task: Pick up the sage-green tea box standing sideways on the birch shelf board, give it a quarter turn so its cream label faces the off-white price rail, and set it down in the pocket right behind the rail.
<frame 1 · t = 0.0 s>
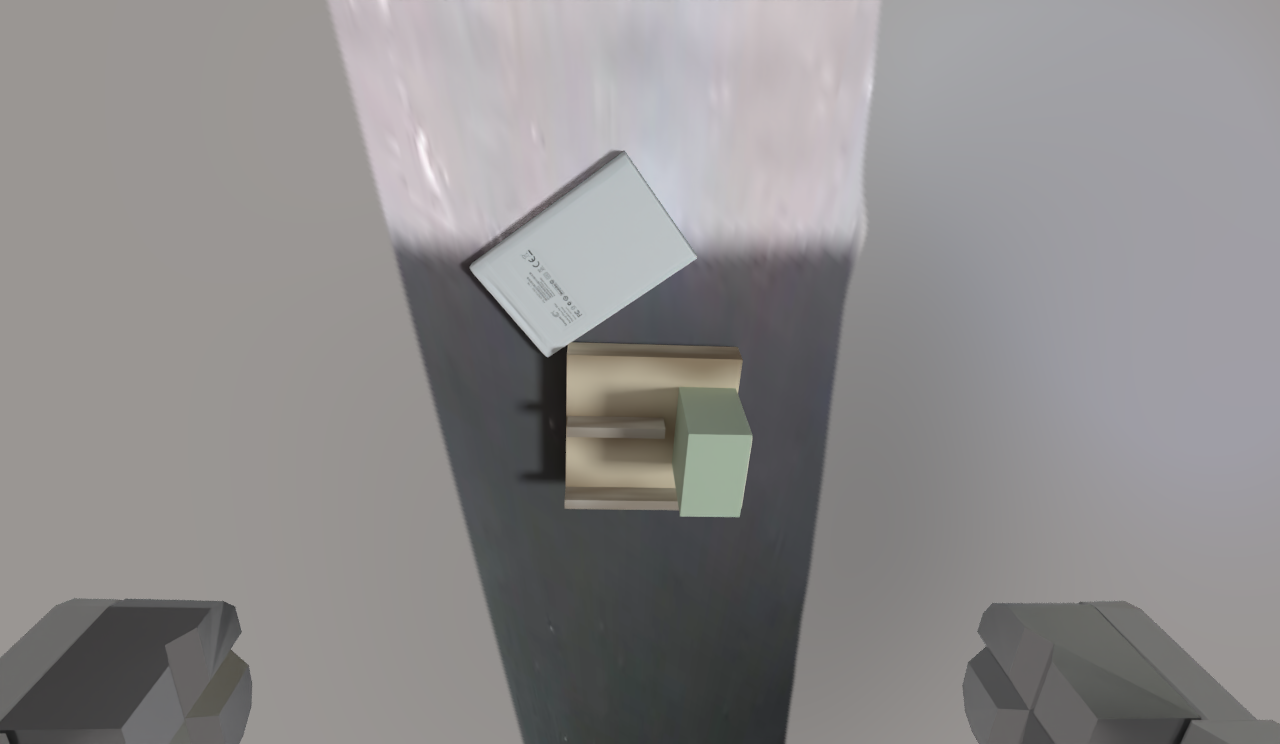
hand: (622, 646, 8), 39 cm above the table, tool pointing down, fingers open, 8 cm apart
tea box: (702, 426, 50), point 2 cm above the table, touching shelf
shelf: (648, 411, 52), on the table
external hard drive: (584, 255, 47), on the table
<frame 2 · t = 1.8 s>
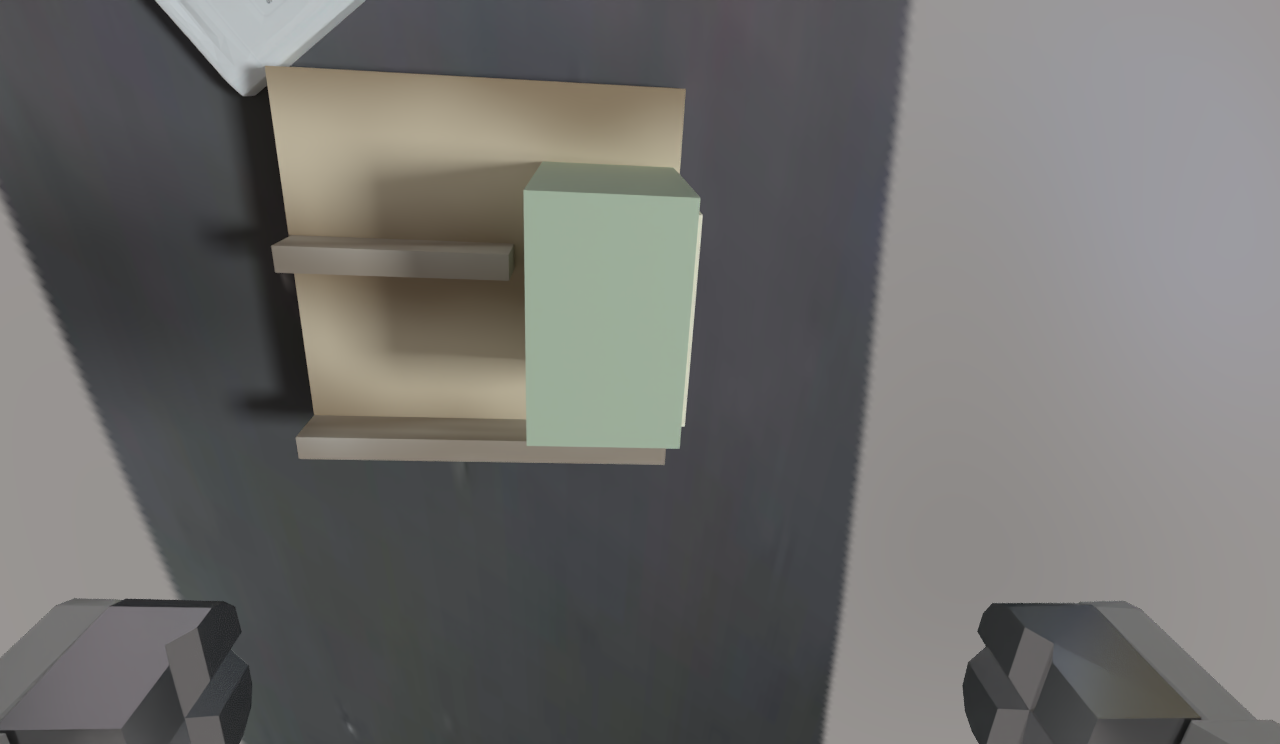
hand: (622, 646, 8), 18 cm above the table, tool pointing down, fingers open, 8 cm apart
tea box: (605, 268, 23), point 2 cm above the table, touching shelf
shelf: (494, 250, 24), on the table
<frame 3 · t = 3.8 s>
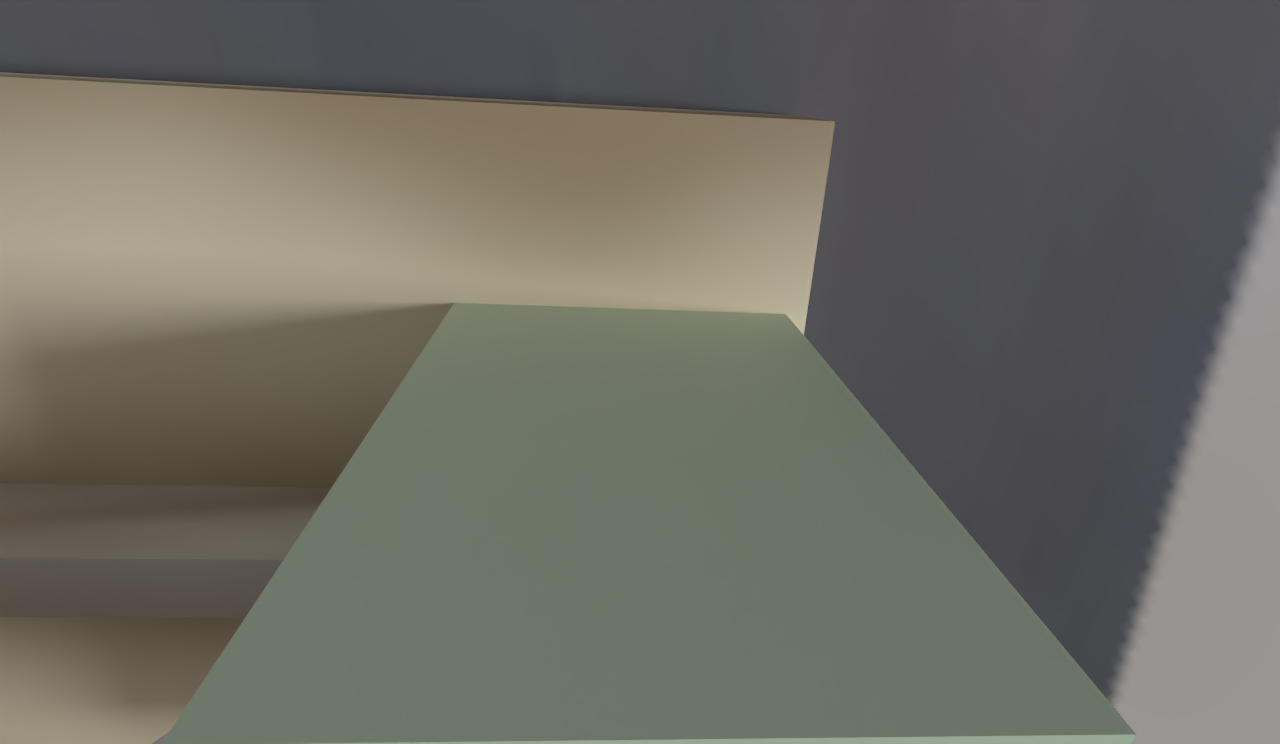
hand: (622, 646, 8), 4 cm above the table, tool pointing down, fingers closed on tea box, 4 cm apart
tea box: (612, 534, 10), point 2 cm above the table, touching gripper, shelf
shelf: (377, 459, 11), on the table
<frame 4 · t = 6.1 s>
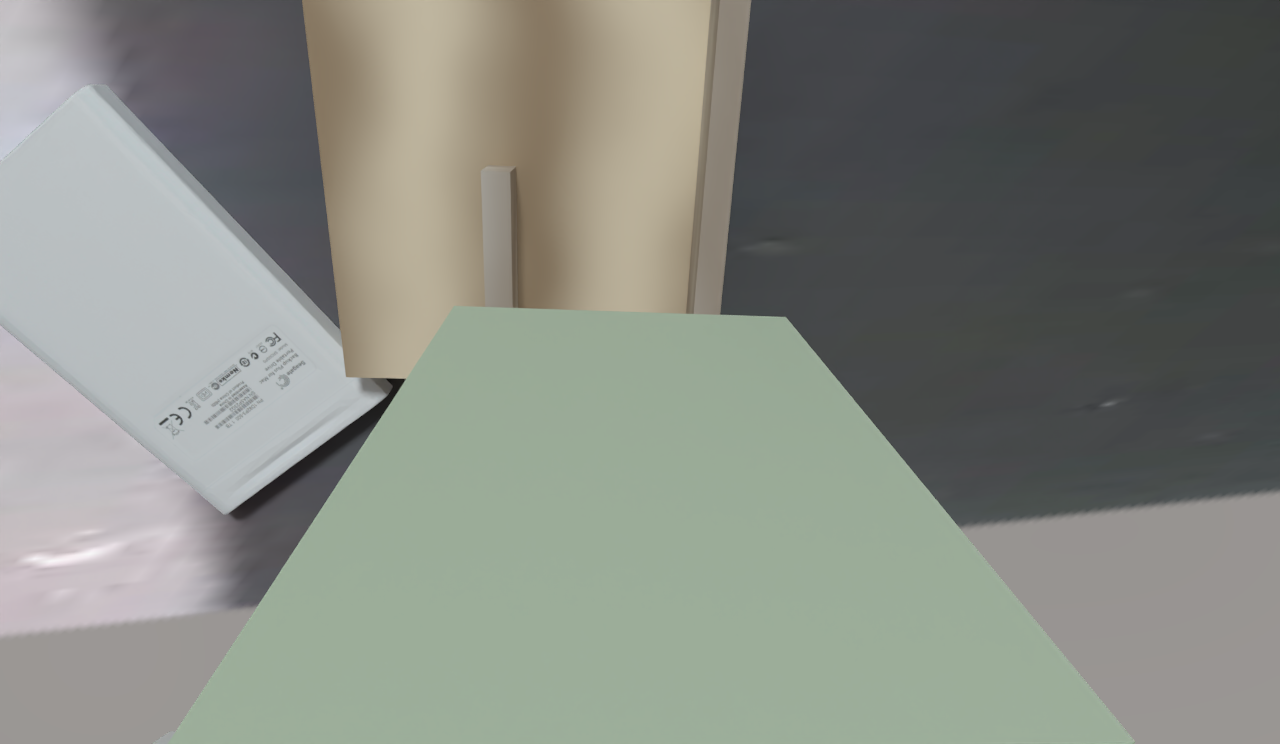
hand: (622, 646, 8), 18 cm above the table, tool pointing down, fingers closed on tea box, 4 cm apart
tea box: (612, 537, 10), point 15 cm above the table, touching gripper
shelf: (519, 188, 23), on the table
external hard drive: (188, 312, 24), on the table
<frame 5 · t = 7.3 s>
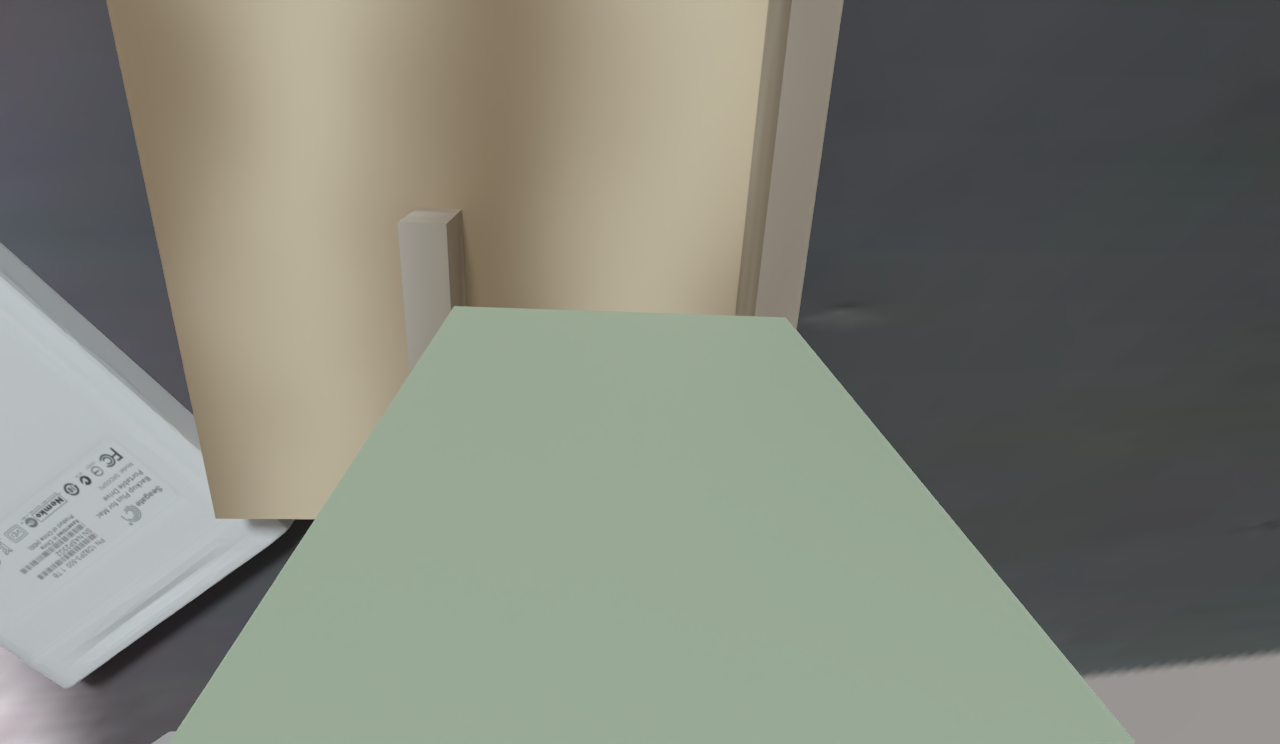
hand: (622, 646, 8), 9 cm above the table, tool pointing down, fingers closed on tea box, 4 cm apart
tea box: (612, 537, 10), point 7 cm above the table, touching gripper
shelf: (474, 236, 15), on the table
when the fingers open (5 cm above the table, at t = 8.5 s): tea box drops 1 cm, resting on shelf.
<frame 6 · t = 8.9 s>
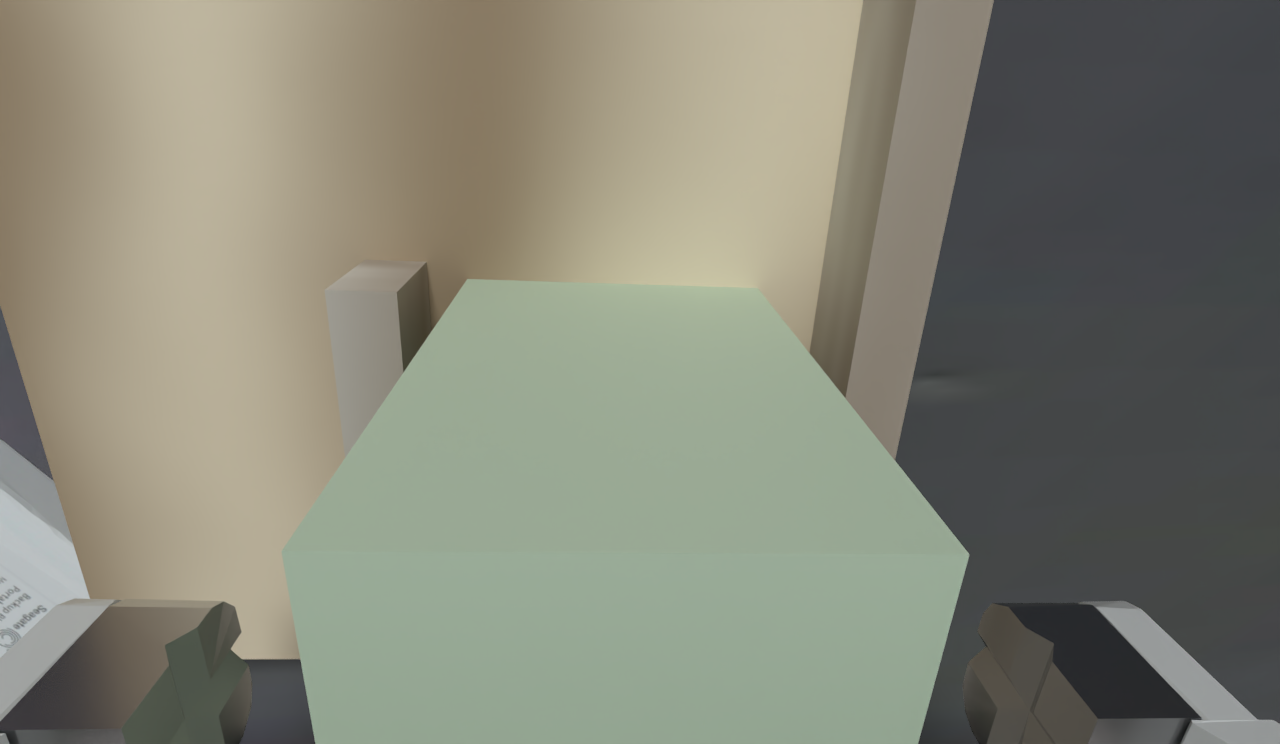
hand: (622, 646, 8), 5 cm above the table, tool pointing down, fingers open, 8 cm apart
tea box: (607, 487, 11), point 2 cm above the table, touching shelf
shelf: (451, 287, 12), on the table
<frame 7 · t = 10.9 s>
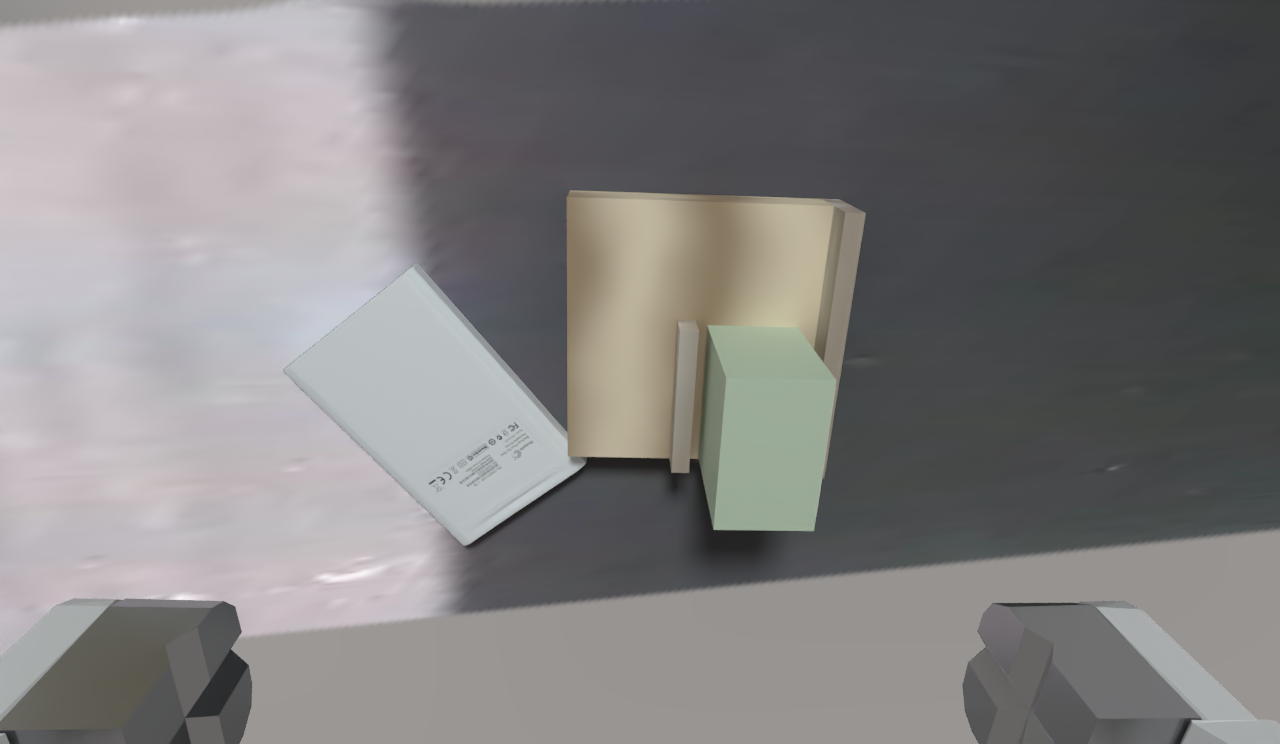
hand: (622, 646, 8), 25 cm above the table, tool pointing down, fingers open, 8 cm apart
tea box: (745, 393, 32), point 2 cm above the table, touching shelf
shelf: (687, 325, 33), on the table
external hard drive: (447, 405, 35), on the table
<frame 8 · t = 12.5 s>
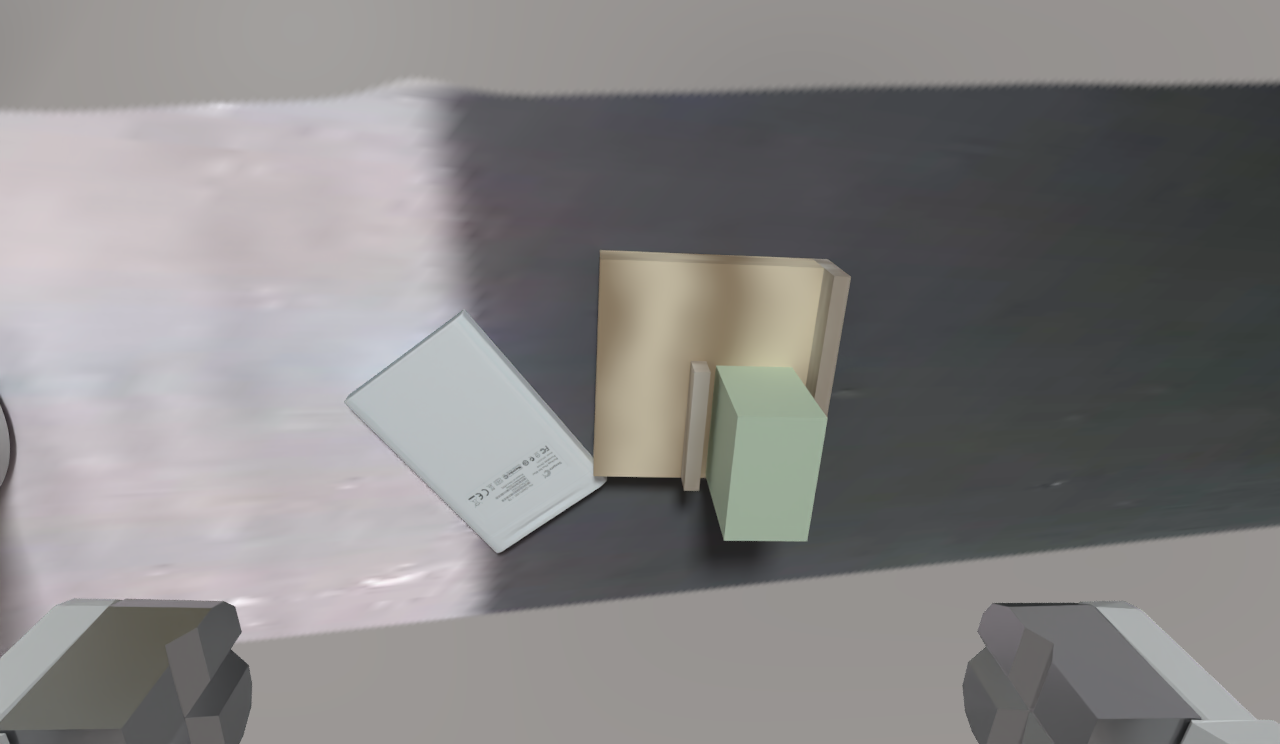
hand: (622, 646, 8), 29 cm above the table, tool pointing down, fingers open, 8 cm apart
tea box: (747, 422, 37), point 2 cm above the table, touching shelf
shelf: (697, 363, 38), on the table
external hard drive: (484, 430, 40), on the table
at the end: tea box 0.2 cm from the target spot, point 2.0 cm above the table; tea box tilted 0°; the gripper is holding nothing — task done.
